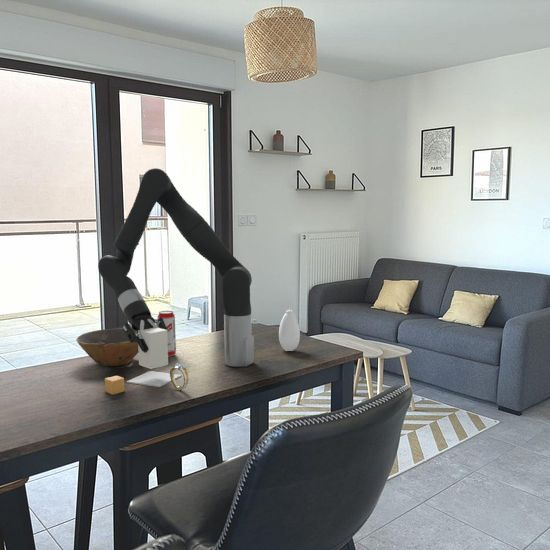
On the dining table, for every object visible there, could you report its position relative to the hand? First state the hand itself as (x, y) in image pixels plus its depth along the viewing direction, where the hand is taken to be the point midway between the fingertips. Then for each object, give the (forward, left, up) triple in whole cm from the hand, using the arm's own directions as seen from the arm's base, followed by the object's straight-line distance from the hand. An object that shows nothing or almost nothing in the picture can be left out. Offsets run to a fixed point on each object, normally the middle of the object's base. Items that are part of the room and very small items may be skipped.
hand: (156, 348), depth 173 cm
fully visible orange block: (+5, +13, -10) cm, 18 cm away
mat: (+1, -1, -10) cm, 10 cm away
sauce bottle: (-25, -49, -10) cm, 55 cm away
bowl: (+25, -12, -10) cm, 30 cm away
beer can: (+14, -27, -10) cm, 32 cm away
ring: (-12, +5, -10) cm, 16 cm away
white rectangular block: (+2, -1, -5) cm, 6 cm away
